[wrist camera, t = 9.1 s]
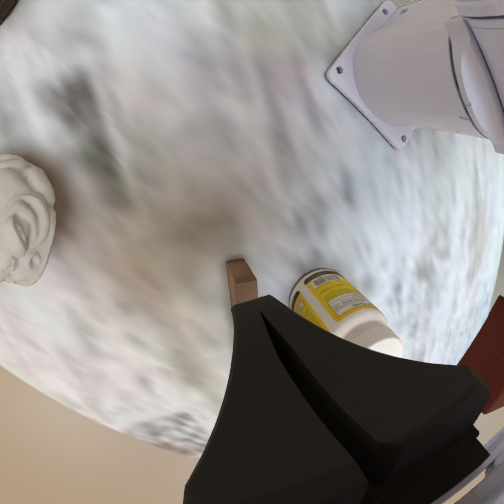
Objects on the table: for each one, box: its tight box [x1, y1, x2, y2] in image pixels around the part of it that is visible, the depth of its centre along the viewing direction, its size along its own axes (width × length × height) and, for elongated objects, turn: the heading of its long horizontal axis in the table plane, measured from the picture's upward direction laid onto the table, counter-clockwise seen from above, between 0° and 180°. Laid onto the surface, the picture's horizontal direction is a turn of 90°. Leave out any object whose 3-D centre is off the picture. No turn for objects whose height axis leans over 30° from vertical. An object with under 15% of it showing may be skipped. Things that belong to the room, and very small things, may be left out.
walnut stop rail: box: [226, 259, 258, 322], centre depth 21 cm, size 1×12×3 cm, turn 5°
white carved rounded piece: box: [0, 153, 57, 286], centre depth 12 cm, size 6×7×7 cm
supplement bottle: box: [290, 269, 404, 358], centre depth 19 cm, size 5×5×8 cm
